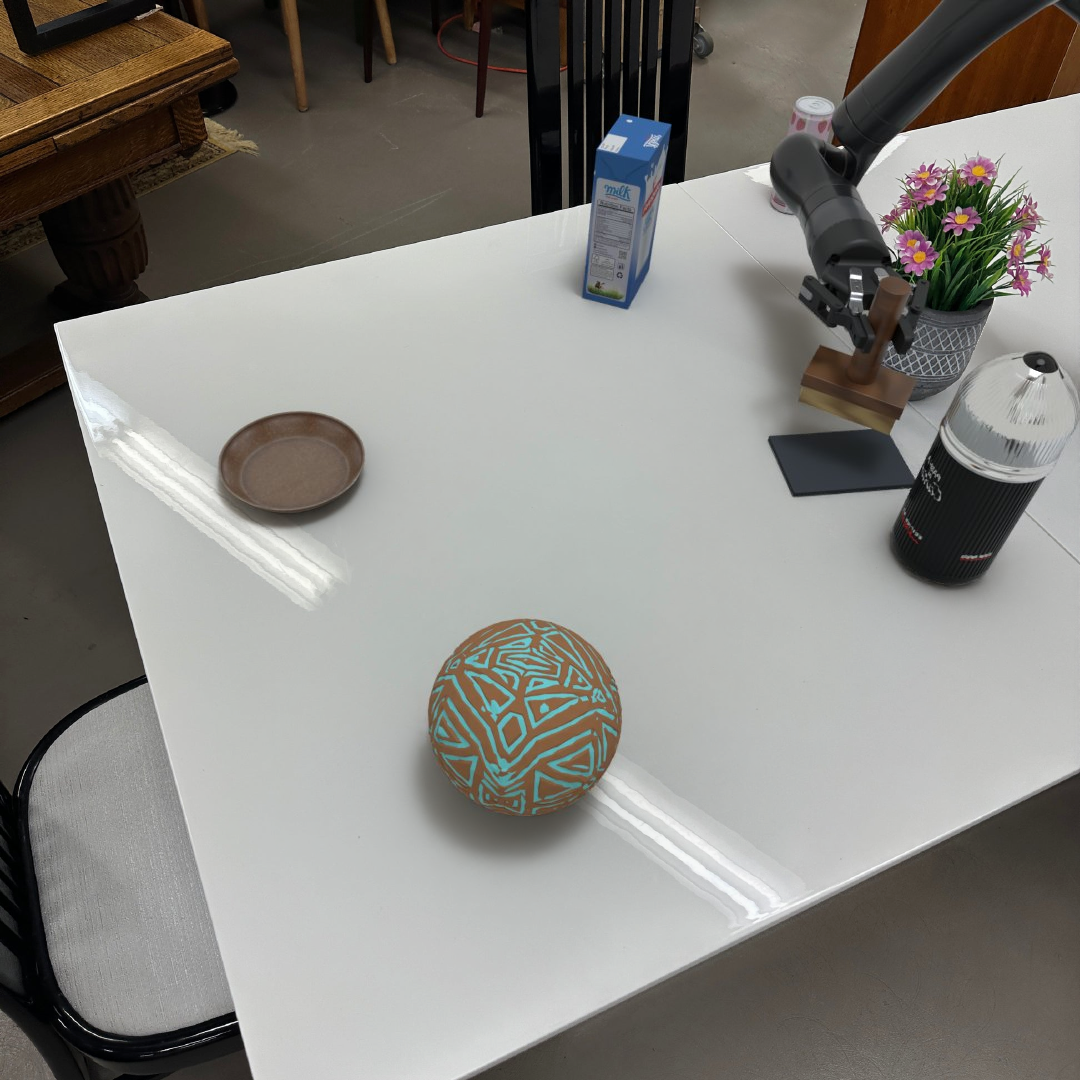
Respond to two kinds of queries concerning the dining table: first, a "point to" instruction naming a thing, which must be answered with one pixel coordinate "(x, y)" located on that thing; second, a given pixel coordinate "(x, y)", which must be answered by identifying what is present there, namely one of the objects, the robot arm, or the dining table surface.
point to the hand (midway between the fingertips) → (887, 346)
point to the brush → (863, 369)
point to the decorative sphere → (524, 717)
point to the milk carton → (624, 209)
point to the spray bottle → (985, 465)
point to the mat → (840, 462)
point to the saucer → (291, 461)
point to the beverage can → (807, 128)
